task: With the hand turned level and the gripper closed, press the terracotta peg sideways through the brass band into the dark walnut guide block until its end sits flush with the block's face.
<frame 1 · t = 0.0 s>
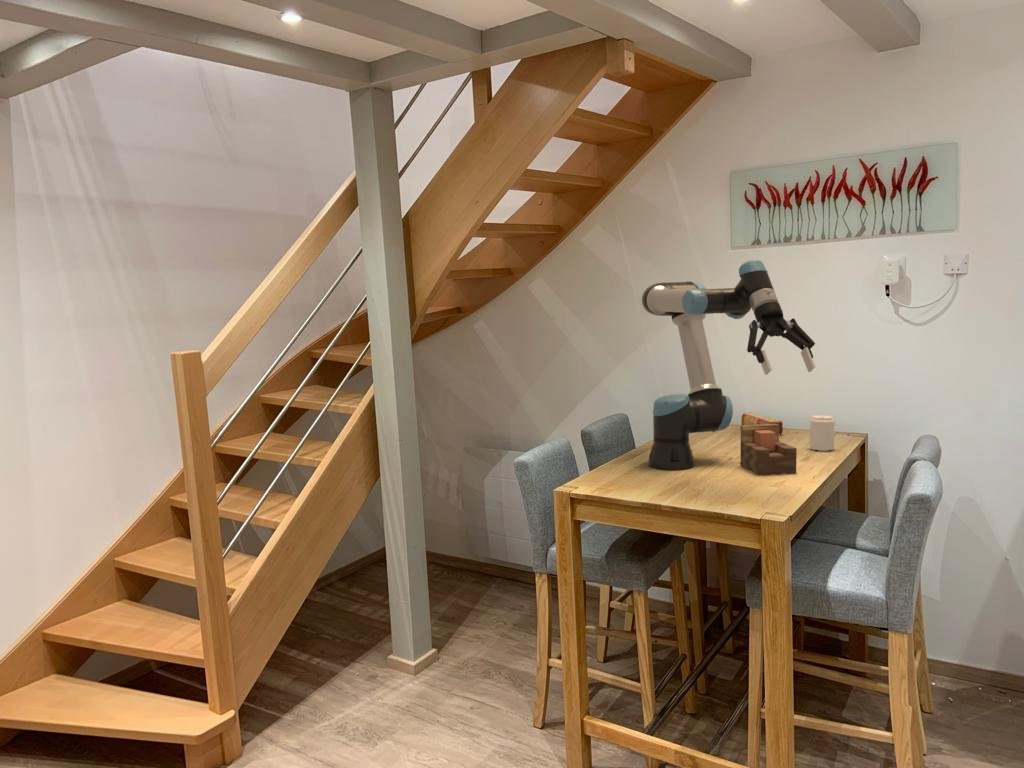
hand: (790, 371, 223), 36 cm above the table, tool tilted 35°, fingers open, 13 cm apart
guide block: (767, 469, 261), on the table
beverage can: (821, 450, 288), on the table
peg: (758, 438, 266), point 9 cm above the table, slide at 7.0 cm
snack package: (761, 432, 325), on the table
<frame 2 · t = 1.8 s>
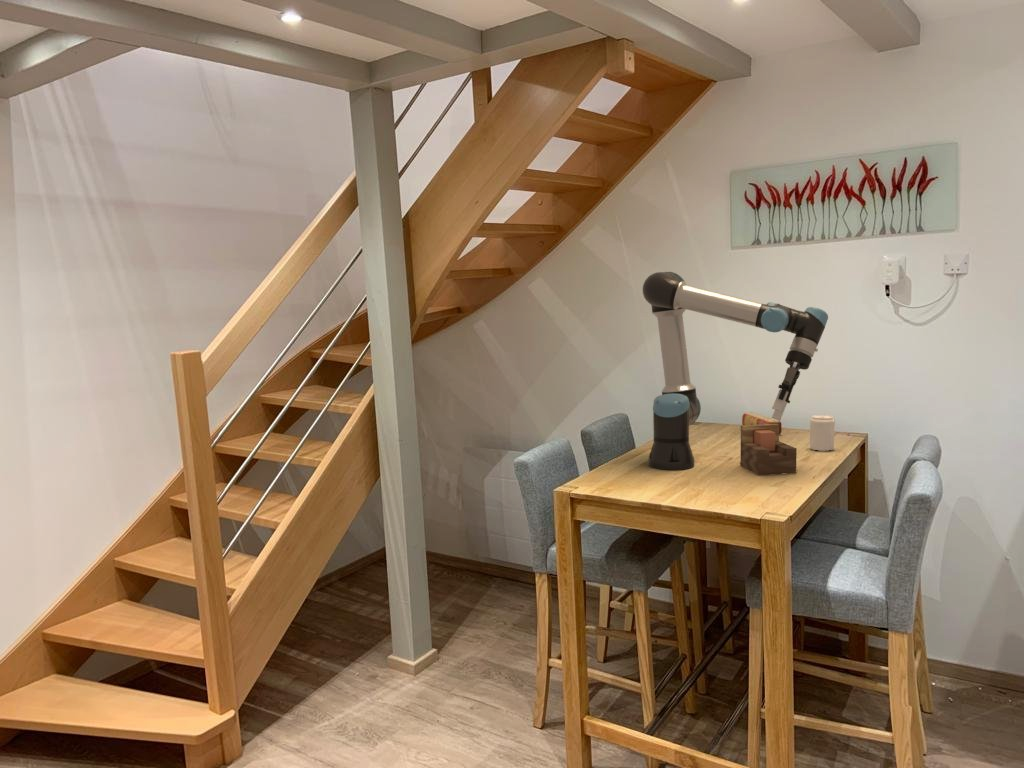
hand: (776, 414, 255), 19 cm above the table, tool tilted 30°, fingers open, 13 cm apart
nothing on the table moved.
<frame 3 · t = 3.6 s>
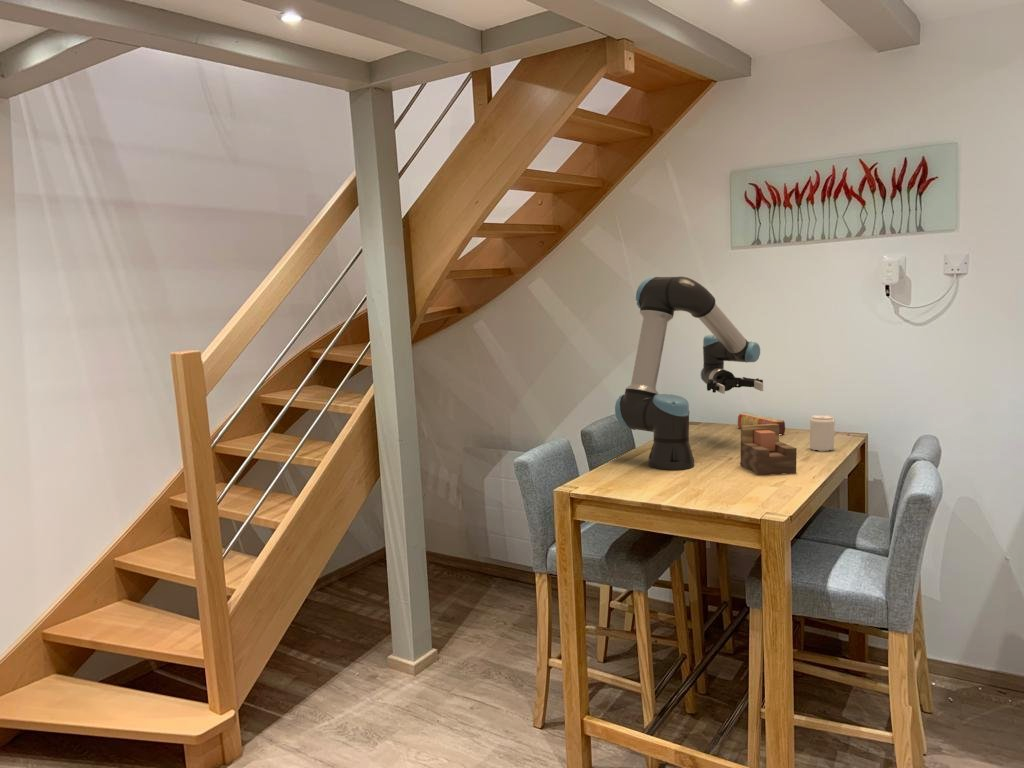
hand: (743, 388, 277), 24 cm above the table, tool horizontal, fingers open, 13 cm apart
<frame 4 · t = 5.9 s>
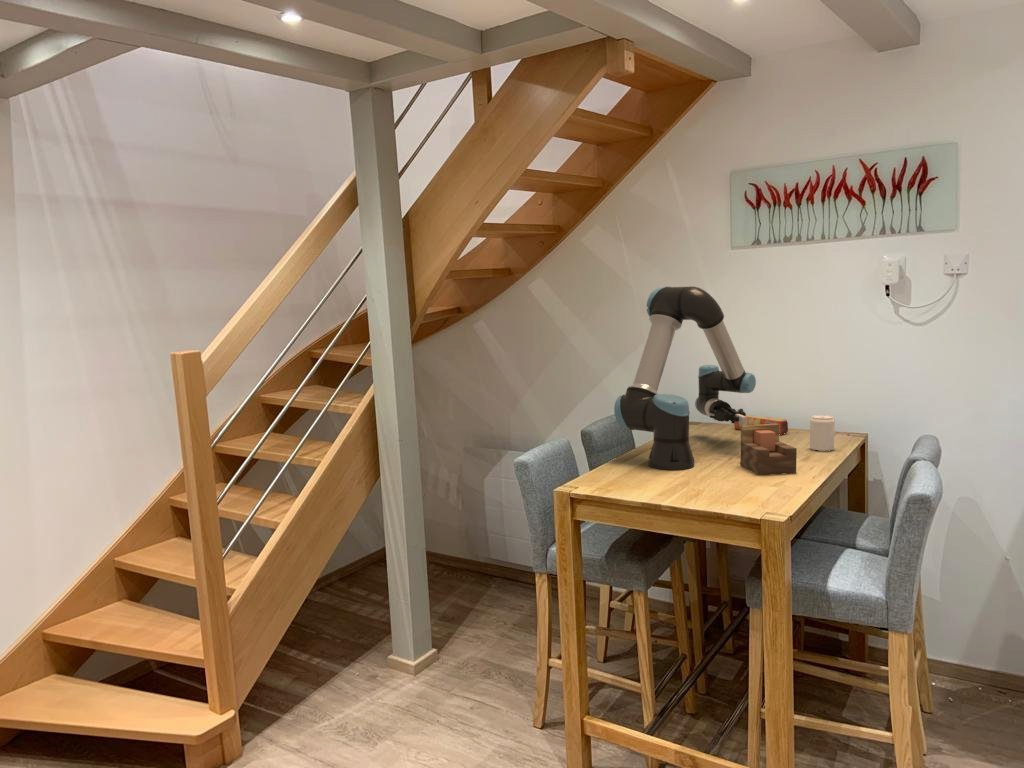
hand: (744, 421, 278), 13 cm above the table, tool horizontal, fingers closed
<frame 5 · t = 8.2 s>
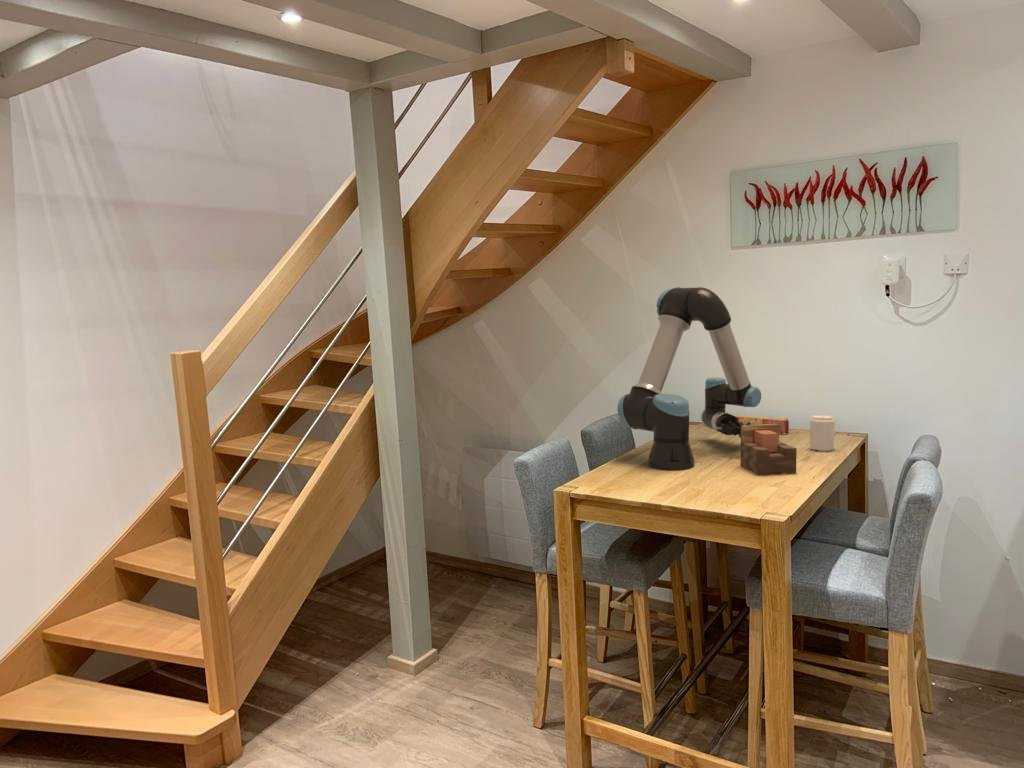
hand: (753, 435, 272), 9 cm above the table, tool horizontal, fingers closed
peg: (760, 439, 265), point 9 cm above the table, slide at 5.2 cm, touching gripper
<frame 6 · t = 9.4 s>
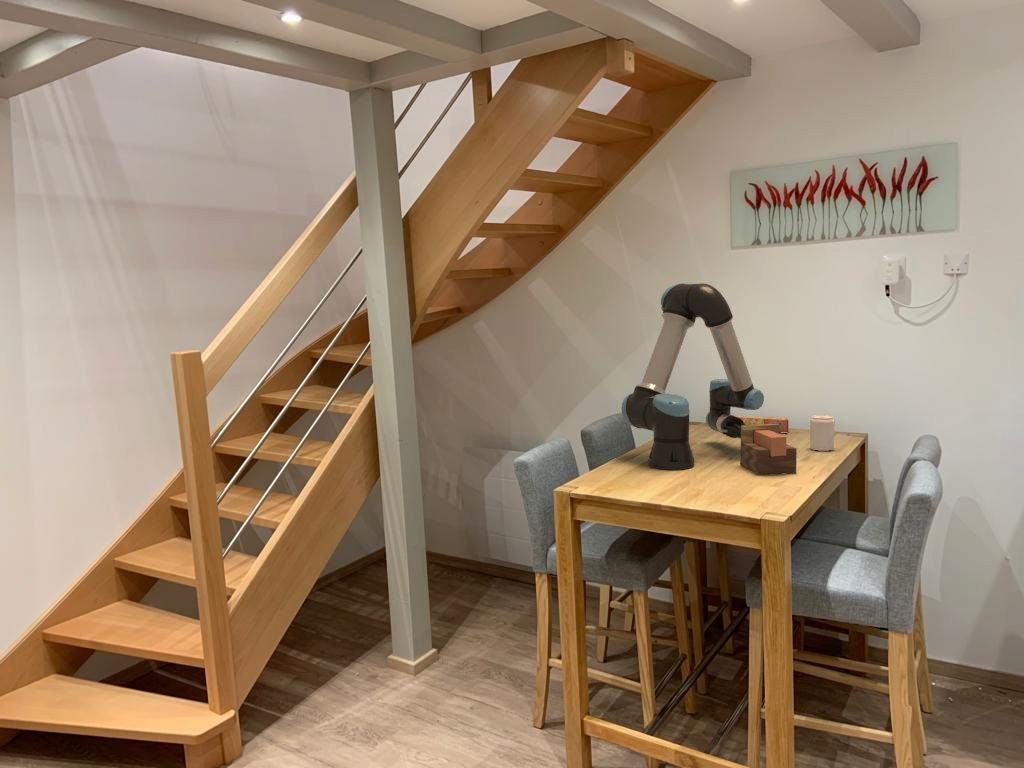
hand: (760, 438, 266), 9 cm above the table, tool horizontal, fingers closed
peg: (768, 442, 259), point 9 cm above the table, slide at -0.5 cm, touching gripper
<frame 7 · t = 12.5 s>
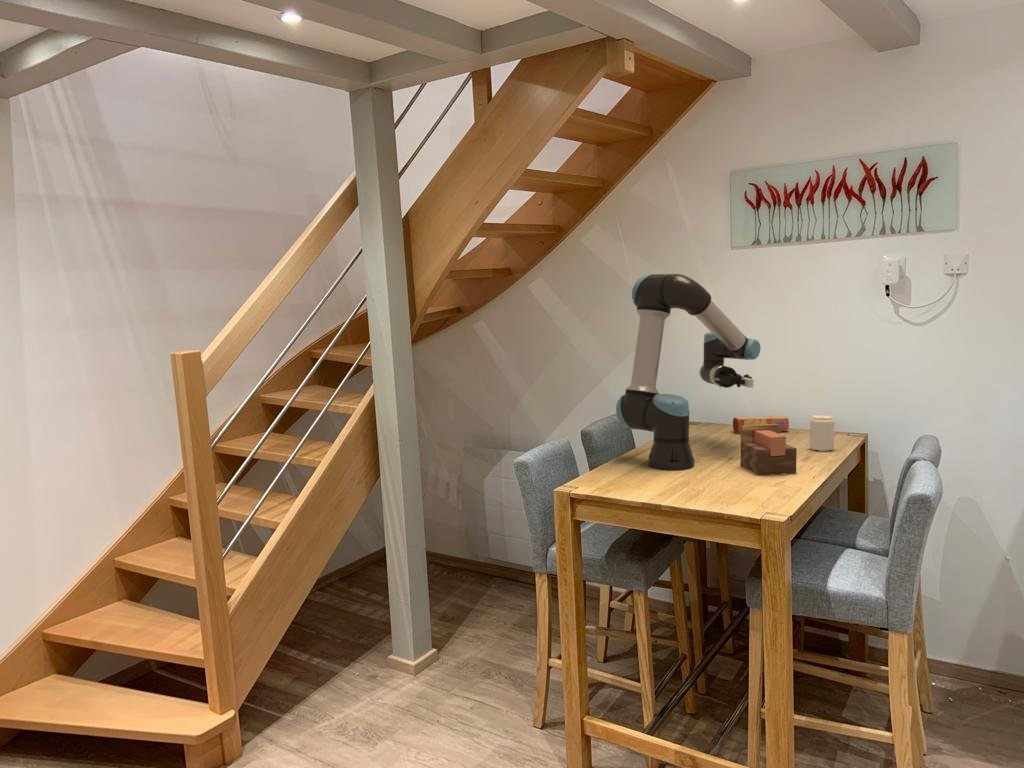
hand: (751, 383, 271), 26 cm above the table, tool horizontal, fingers closed
peg: (768, 442, 260), point 9 cm above the table, slide at 0.0 cm
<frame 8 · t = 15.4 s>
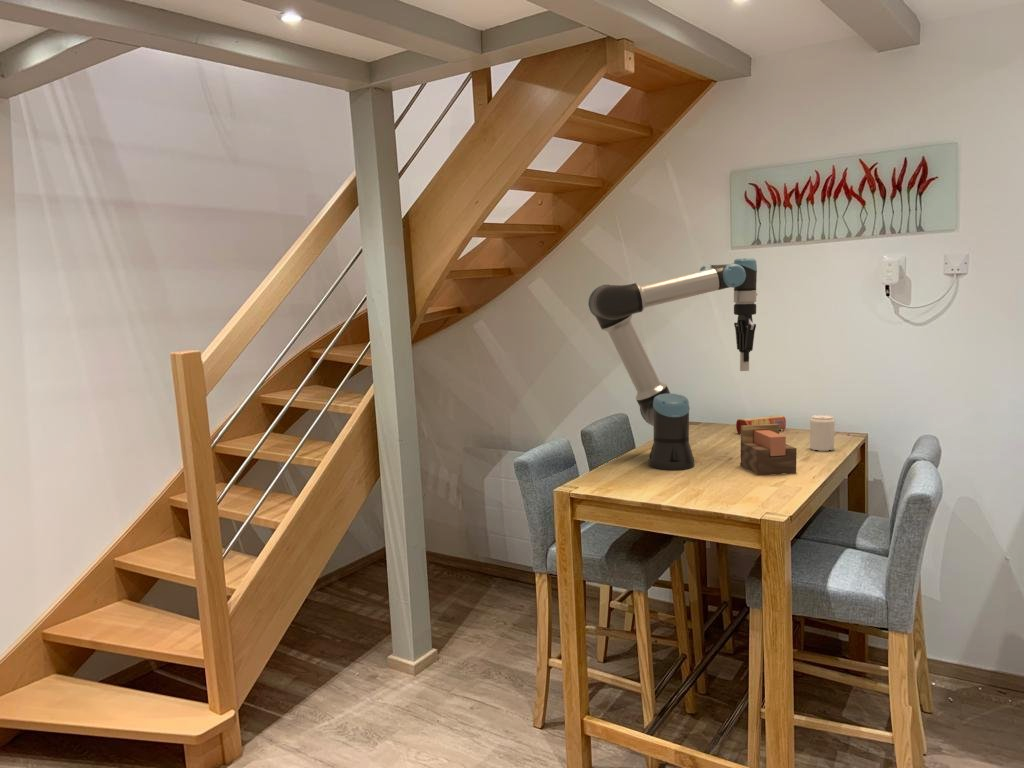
hand: (744, 370, 282), 29 cm above the table, tool pointing down, fingers closed
at the end: peg slide at 0.0 cm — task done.
